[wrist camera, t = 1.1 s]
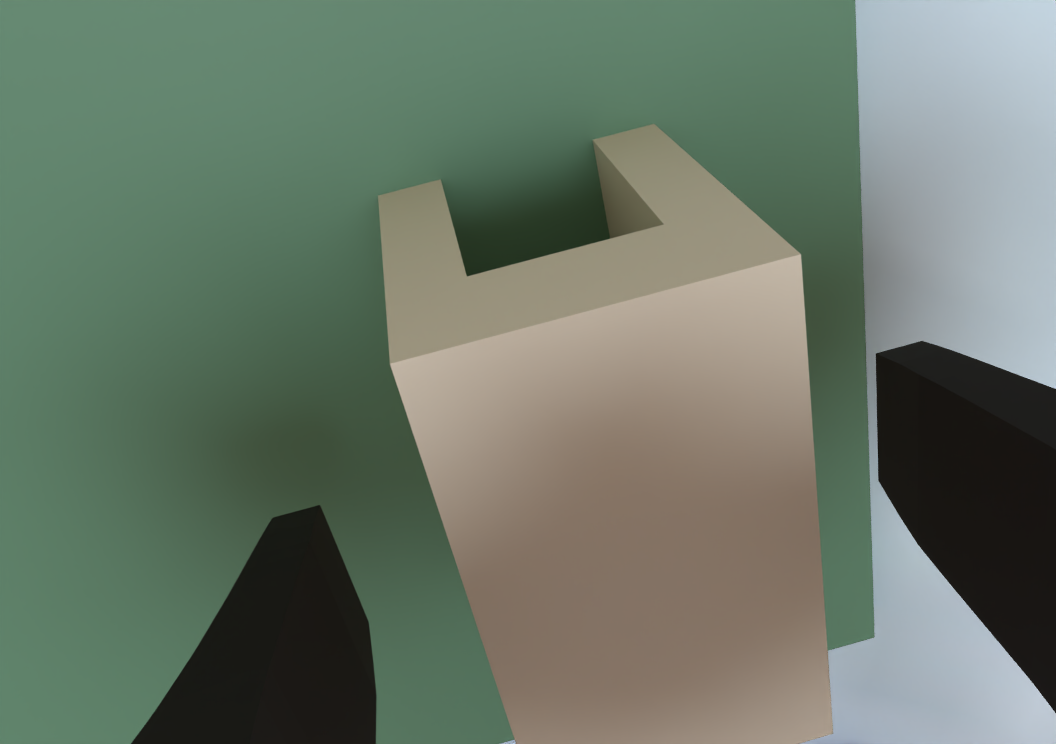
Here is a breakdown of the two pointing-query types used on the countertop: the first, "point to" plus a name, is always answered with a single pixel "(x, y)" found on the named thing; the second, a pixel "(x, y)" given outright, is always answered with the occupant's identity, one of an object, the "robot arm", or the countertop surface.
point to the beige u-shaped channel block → (624, 458)
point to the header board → (343, 300)
